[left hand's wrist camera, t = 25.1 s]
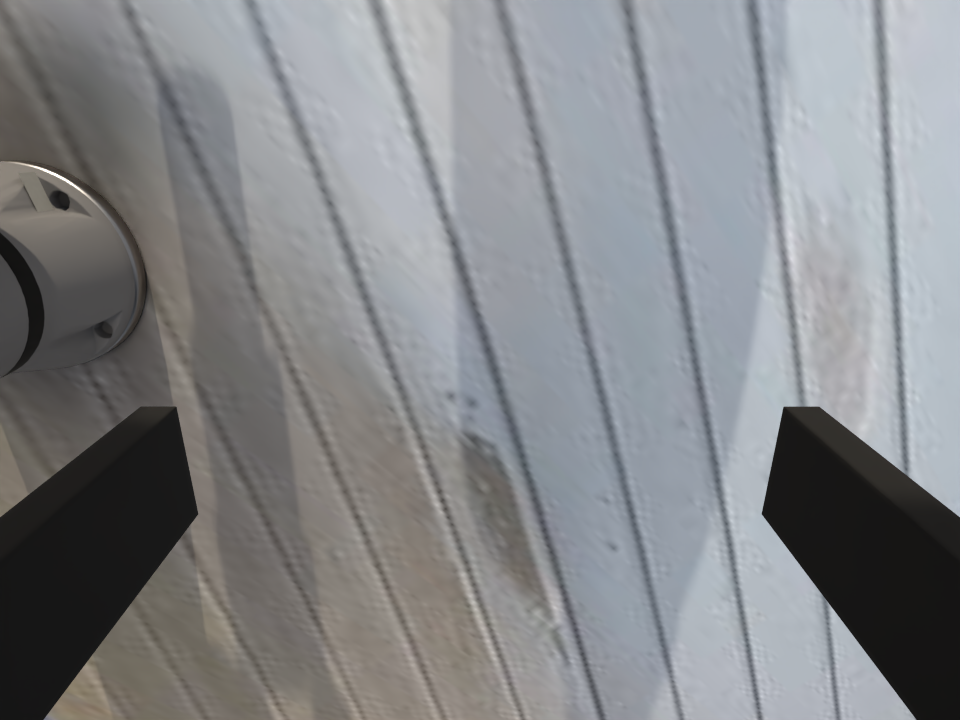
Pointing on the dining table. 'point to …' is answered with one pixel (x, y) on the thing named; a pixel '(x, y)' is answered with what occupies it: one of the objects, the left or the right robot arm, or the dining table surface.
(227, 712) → the dining table surface
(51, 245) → the left robot arm
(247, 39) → the dining table surface
